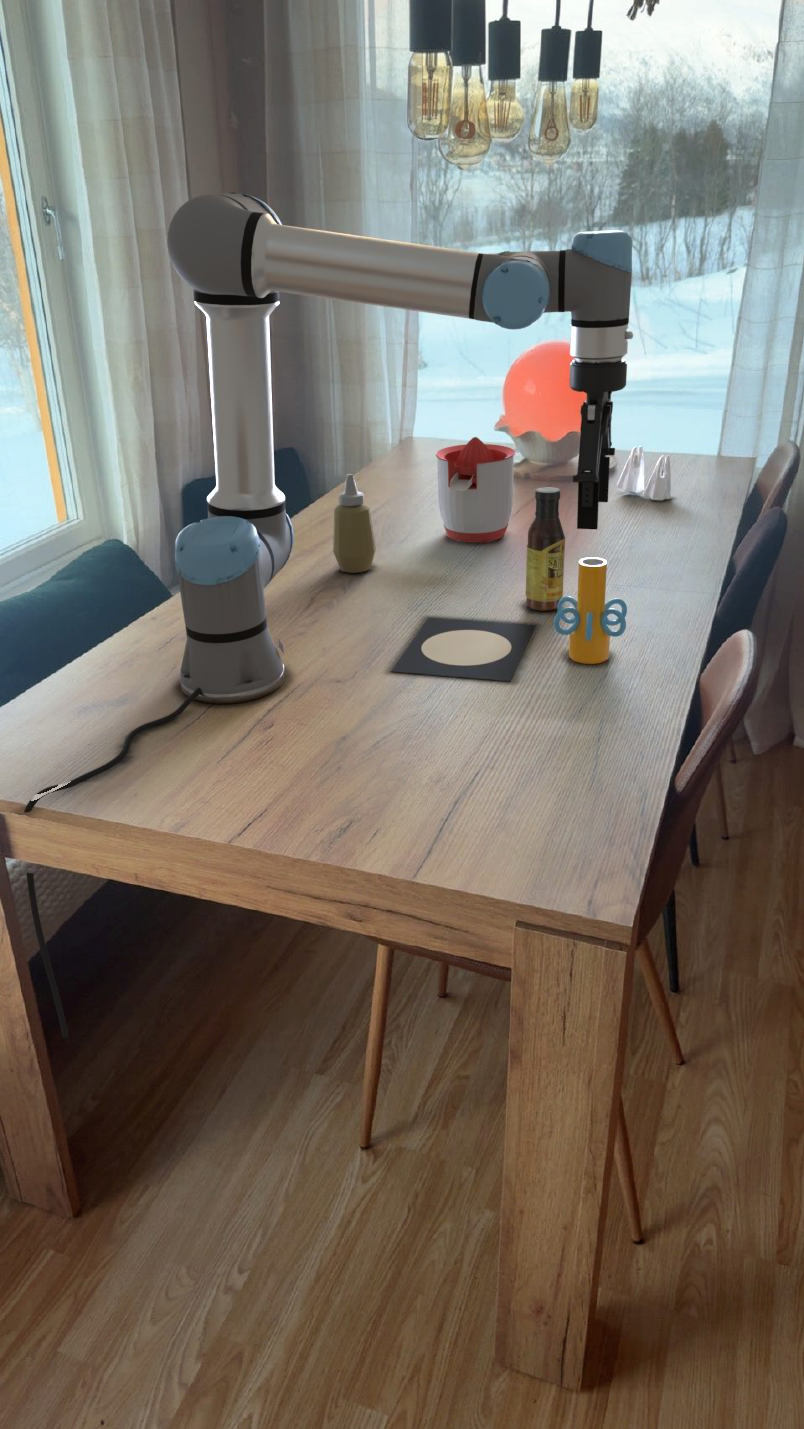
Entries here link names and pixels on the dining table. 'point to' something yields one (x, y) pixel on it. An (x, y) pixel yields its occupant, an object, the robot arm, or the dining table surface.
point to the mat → (466, 649)
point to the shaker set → (634, 477)
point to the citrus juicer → (475, 490)
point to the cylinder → (590, 615)
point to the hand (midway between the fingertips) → (593, 514)
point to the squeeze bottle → (353, 530)
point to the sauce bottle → (545, 553)
